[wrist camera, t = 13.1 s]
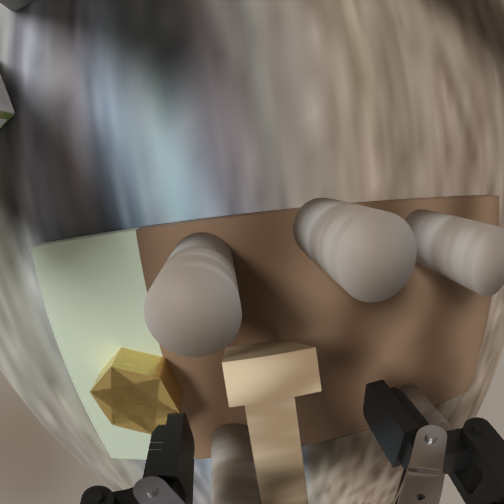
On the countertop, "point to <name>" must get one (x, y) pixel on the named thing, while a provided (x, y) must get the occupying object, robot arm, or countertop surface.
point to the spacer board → (322, 310)
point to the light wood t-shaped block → (273, 410)
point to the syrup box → (5, 105)
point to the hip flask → (15, 4)
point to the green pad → (97, 317)
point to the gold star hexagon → (137, 390)
